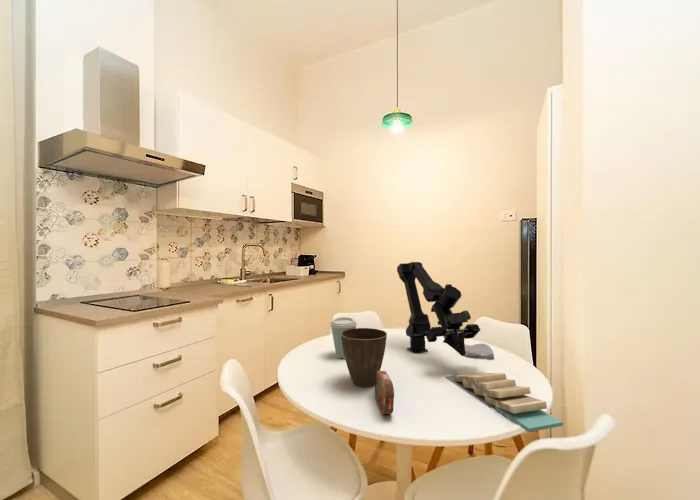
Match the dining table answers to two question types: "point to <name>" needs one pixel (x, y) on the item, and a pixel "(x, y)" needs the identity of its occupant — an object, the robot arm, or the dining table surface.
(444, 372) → the dining table surface
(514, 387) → the domino
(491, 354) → the stone block
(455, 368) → the dining table surface
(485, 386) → the domino
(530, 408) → the domino
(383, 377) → the tin
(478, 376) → the domino
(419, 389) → the dining table surface
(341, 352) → the disposable coffee cup
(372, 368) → the plant pot
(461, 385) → the mat
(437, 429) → the dining table surface
